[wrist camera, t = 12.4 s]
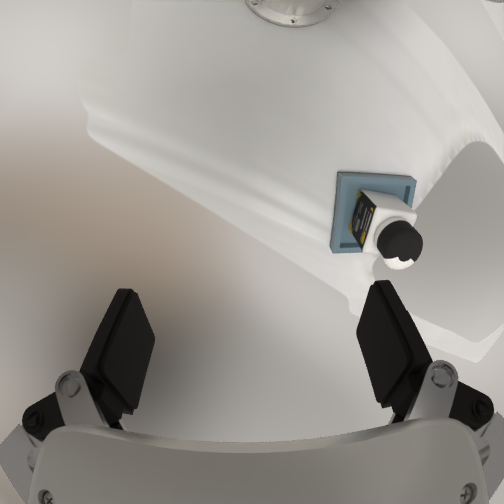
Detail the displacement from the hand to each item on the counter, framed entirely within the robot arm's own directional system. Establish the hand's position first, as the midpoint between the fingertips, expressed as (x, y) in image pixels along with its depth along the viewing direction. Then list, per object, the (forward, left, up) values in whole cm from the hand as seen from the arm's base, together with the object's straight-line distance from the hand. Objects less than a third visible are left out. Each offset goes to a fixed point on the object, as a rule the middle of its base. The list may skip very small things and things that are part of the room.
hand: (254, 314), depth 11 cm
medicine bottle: (+10, +19, -30) cm, 37 cm away
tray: (+10, +19, -30) cm, 37 cm away
